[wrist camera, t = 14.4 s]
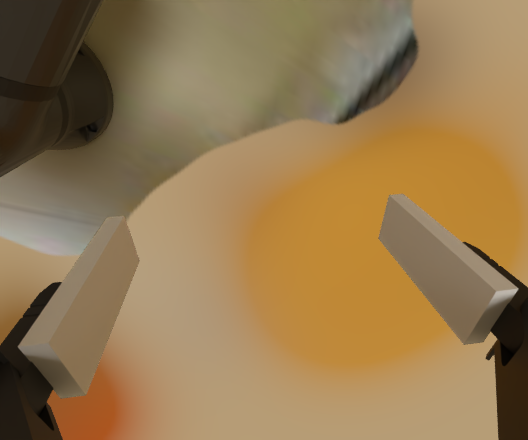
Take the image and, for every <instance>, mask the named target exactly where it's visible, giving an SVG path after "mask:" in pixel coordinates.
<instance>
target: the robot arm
mask: <svg viewBox="0 0 528 440" xmlns="http://www.w3.org/2000/svg"><path fill="white" fill-rule="evenodd" d="M102 1H103V0H0V177H1V176H3V175H5V174H7V173H8V172H10V171H12V170H13V169H15V168H17V167H18V166H20V165H22V164H23V163H25V162H27V161H28V160H30V159H32V158H33V157H35V156H37V155H39V154H40V153H42V152H44V151H45V150H66V149H73V148H77V147H80V146H83V145H85V144H87V143H89V142H91V141H92V140H94V139H95V138H96V137H98V136H99V135H100V134H101V133H102V132H103V131H104V130H105V129H106V127H107V125H108V124H109V121H110V119H111V116H112V111H113V95H112V89H111V85H110V82H109V79H108V77H107V74H106V72H105V70H104V68H103V66H102V65H101V63H100V61H99V60H98V59H97V57H96V56H95V54H94V53H93V52H92V51H91V50H90V48H89V47H88V46H87V45H86V44H85V43H84V42H83V40H84V38H85V36H86V34H87V32H88V30H89V28H90V26H91V24H92V22H93V20H94V18H95V16H96V14H97V12H98V10H99V8H100V5H101V3H102ZM379 240H380V241H381V242H382V243H383V245H384V246H385V247H386V249H387V250H388V251H389V252H390V253H391V255H392V256H393V257H394V258H395V260H396V261H397V262H398V263H399V264H400V266H401V267H402V268H403V270H404V271H405V272H406V273H407V275H409V277H410V278H411V280H412V281H413V282H414V283H415V284H416V286H417V287H418V288H419V289H420V291H421V292H422V293H423V294H424V295H425V297H426V298H427V299H428V301H429V302H430V303H431V304H432V305H433V307H434V308H435V309H436V311H437V312H438V313H439V314H440V316H441V317H442V318H443V319H444V321H445V322H446V323H447V324H448V325H449V327H450V328H451V329H452V330H453V332H454V333H455V334H456V335H457V337H458V338H459V339H460V340H461V342H462V343H463V344H464V345H465V344H473V343H480V342H484V340H485V339H486V337H487V336H488V334H489V333H490V331H491V332H492V333H493V334H494V335H495V336H496V338H497V341H496V342H495V344H494V345H493V346H492V348H491V349H490V351H489V352H488V354H487V356H486V359H487V360H490V359H491V357H492V356H493V355H495V374H496V395H497V415H498V416H497V417H498V438H499V440H528V287H527V286H525V285H524V284H523V283H521V282H520V281H519V280H518V279H516V278H515V277H514V276H513V275H511V274H510V273H509V272H508V271H506V270H505V269H504V268H503V267H501V266H498V264H497V263H496V262H495V261H494V260H492V259H490V258H489V256H487V255H486V254H485V253H484V252H482V251H481V250H480V249H478V248H476V247H474V246H472V245H470V244H468V243H466V242H461V241H460V240H459V239H458V238H456V237H455V236H454V235H453V234H451V233H450V232H449V231H448V230H446V229H445V228H444V227H443V226H441V225H440V224H439V223H438V222H437V221H436V220H434V219H433V218H432V217H431V216H429V215H428V214H427V213H426V212H425V211H423V210H422V209H421V208H420V207H418V206H417V205H416V204H415V203H414V202H412V201H411V200H410V199H409V198H408V197H406V196H405V195H404V194H397V195H389V198H388V202H387V206H386V210H385V214H384V218H383V222H382V226H381V230H380V234H379ZM138 263H139V258H138V255H137V252H136V249H135V246H134V243H133V240H132V237H131V234H130V231H129V229H128V226H127V223H126V220H125V217H124V216H117V217H107V218H106V220H105V221H104V223H103V224H102V225H101V227H100V228H99V230H98V231H97V233H96V234H95V236H94V237H93V239H92V240H91V241H90V243H89V244H88V246H87V247H86V249H85V250H84V252H83V253H82V254H81V256H80V257H79V259H78V260H77V262H76V263H75V265H74V266H73V268H72V269H71V271H70V272H69V273H68V275H67V276H66V278H65V279H64V280H63V282H57V283H52V284H51V285H49V286H48V287H47V288H46V289H44V290H43V291H42V292H41V293H39V295H38V296H37V297H36V299H35V300H34V301H33V303H32V304H31V305H30V308H28V309H27V311H26V312H25V313H24V315H23V318H21V319H20V320H19V321H18V323H17V324H16V325H15V327H14V328H13V329H12V330H11V332H10V333H9V334H8V336H7V337H6V338H5V340H4V341H3V343H2V344H1V345H0V440H63V439H62V436H61V433H60V431H59V428H58V425H57V423H56V420H55V417H54V415H53V412H52V410H51V407H50V406H49V405H48V403H47V400H48V398H49V396H50V394H51V392H52V390H54V391H55V392H56V393H57V395H58V396H59V397H60V398H68V397H76V396H84V395H86V394H87V391H88V389H89V386H90V384H91V381H92V379H93V376H94V374H95V371H96V369H97V366H98V364H99V361H100V359H101V356H102V354H103V351H104V348H105V346H106V343H107V341H108V339H109V336H110V334H111V331H112V329H113V326H114V323H115V321H116V318H117V316H118V314H119V311H120V309H121V306H122V304H123V301H124V299H125V296H126V294H127V291H128V289H129V286H130V283H131V281H132V278H133V276H134V273H135V271H136V268H137V266H138Z"/></svg>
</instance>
